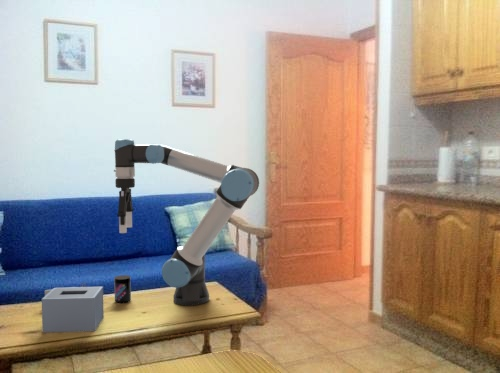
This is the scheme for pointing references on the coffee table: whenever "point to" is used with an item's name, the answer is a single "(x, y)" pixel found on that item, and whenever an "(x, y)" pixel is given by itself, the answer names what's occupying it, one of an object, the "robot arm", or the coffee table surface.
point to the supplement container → (122, 289)
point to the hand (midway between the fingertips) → (126, 230)
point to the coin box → (72, 309)
